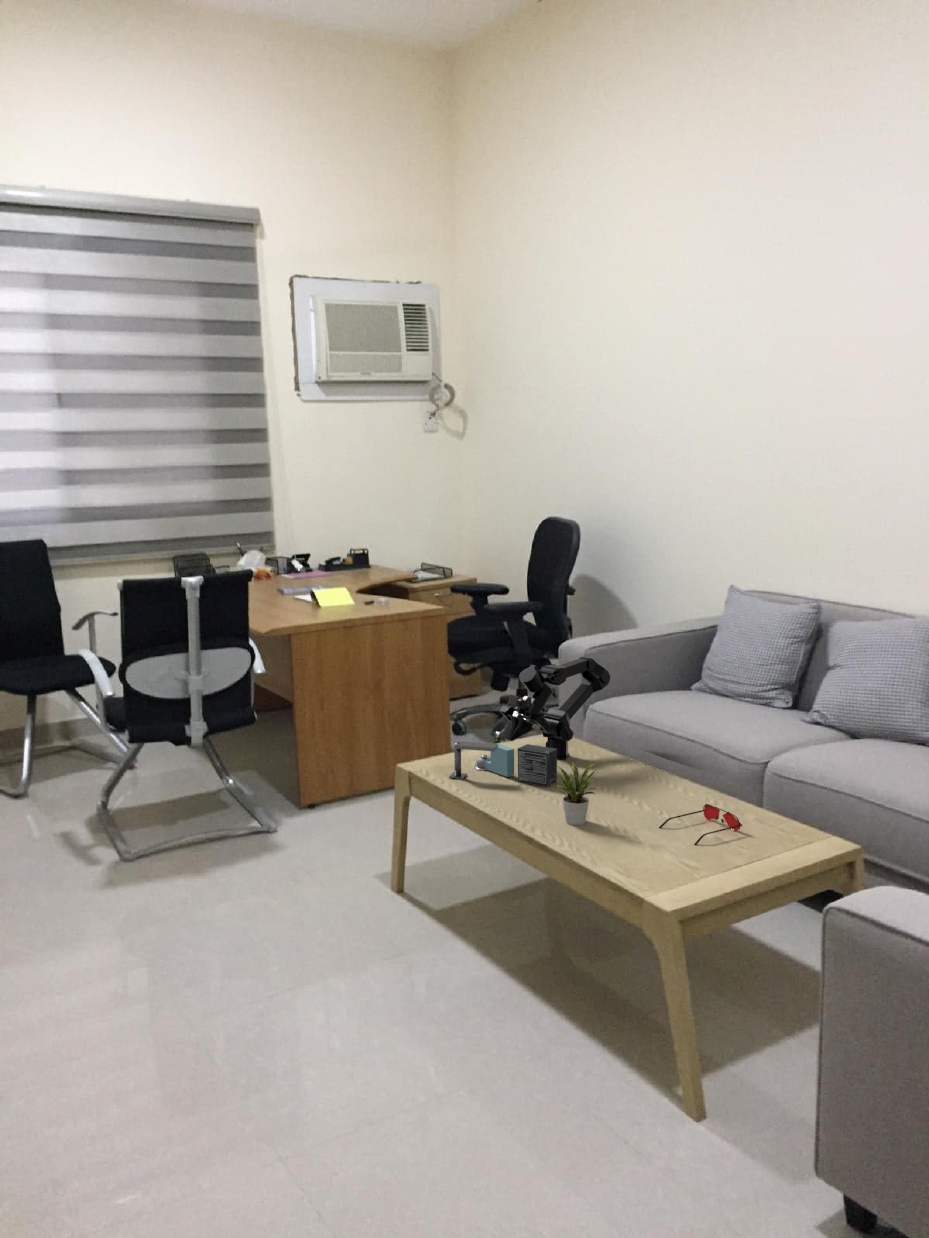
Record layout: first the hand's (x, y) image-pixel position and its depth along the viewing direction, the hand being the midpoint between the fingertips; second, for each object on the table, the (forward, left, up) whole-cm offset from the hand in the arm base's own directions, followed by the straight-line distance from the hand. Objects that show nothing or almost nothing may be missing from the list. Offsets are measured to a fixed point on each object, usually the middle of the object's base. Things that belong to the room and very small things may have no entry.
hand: (510, 740), depth 312 cm
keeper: (+9, +11, -10) cm, 17 cm away
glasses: (-60, +38, -10) cm, 72 cm away
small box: (-11, +9, -10) cm, 17 cm away
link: (+4, +3, -9) cm, 10 cm away
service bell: (+8, -1, -10) cm, 13 cm away
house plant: (-29, +39, -10) cm, 49 cm away
